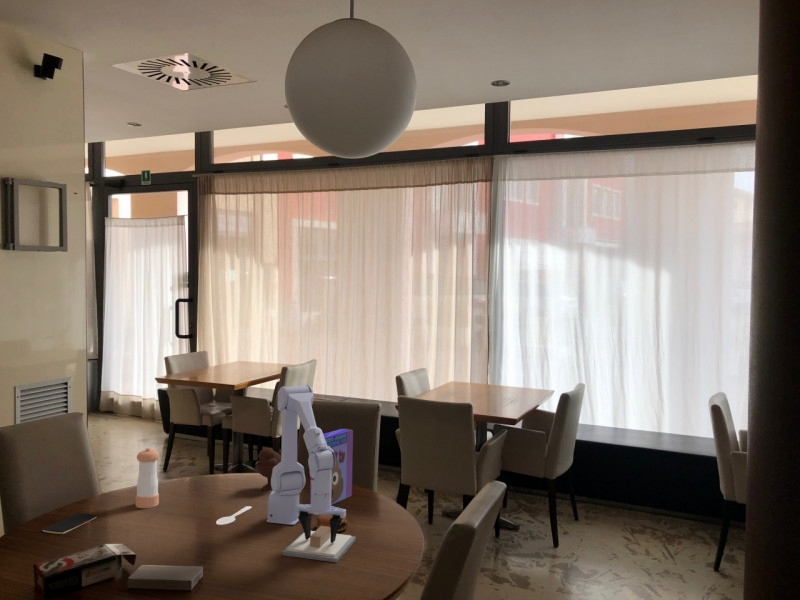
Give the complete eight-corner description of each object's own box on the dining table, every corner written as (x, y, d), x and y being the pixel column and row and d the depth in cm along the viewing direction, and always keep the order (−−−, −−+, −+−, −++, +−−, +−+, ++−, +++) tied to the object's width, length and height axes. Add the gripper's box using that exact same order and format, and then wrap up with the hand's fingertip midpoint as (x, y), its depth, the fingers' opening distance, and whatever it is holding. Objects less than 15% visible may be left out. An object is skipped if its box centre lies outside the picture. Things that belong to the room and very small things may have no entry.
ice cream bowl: (278, 493, 225) (279, 452, 225) (249, 491, 227) (250, 450, 227) (289, 485, 235) (290, 445, 235) (261, 482, 237) (262, 443, 237)
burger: (310, 526, 194) (311, 511, 194) (337, 520, 200) (337, 506, 200) (326, 537, 186) (326, 521, 186) (352, 530, 192) (353, 515, 192)
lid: (287, 550, 173) (287, 537, 173) (307, 532, 186) (307, 520, 186) (334, 556, 169) (335, 543, 169) (351, 537, 183) (351, 525, 183)
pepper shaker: (163, 503, 212) (164, 447, 212) (144, 509, 206) (145, 452, 205) (149, 499, 216) (150, 444, 216) (130, 505, 210) (131, 448, 209)
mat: (282, 555, 172) (282, 551, 172) (305, 533, 188) (305, 530, 188) (336, 562, 168) (337, 558, 168) (355, 540, 184) (355, 536, 184)
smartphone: (98, 514, 199) (62, 531, 184) (97, 518, 199) (62, 535, 184) (78, 512, 200) (41, 529, 186) (78, 515, 200) (41, 532, 186)
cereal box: (320, 510, 209) (322, 438, 209) (309, 507, 211) (311, 436, 211) (351, 496, 224) (353, 429, 223) (341, 493, 226) (342, 428, 226)
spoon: (257, 508, 210) (257, 506, 210) (225, 526, 193) (225, 525, 193) (243, 506, 212) (243, 504, 212) (211, 524, 195) (211, 522, 195)
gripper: (291, 494, 176) (291, 542, 176) (340, 499, 172) (339, 548, 172) (302, 486, 183) (301, 532, 183) (348, 491, 179) (347, 538, 179)
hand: (320, 539), depth 178 cm, fingers open, 7 cm apart
